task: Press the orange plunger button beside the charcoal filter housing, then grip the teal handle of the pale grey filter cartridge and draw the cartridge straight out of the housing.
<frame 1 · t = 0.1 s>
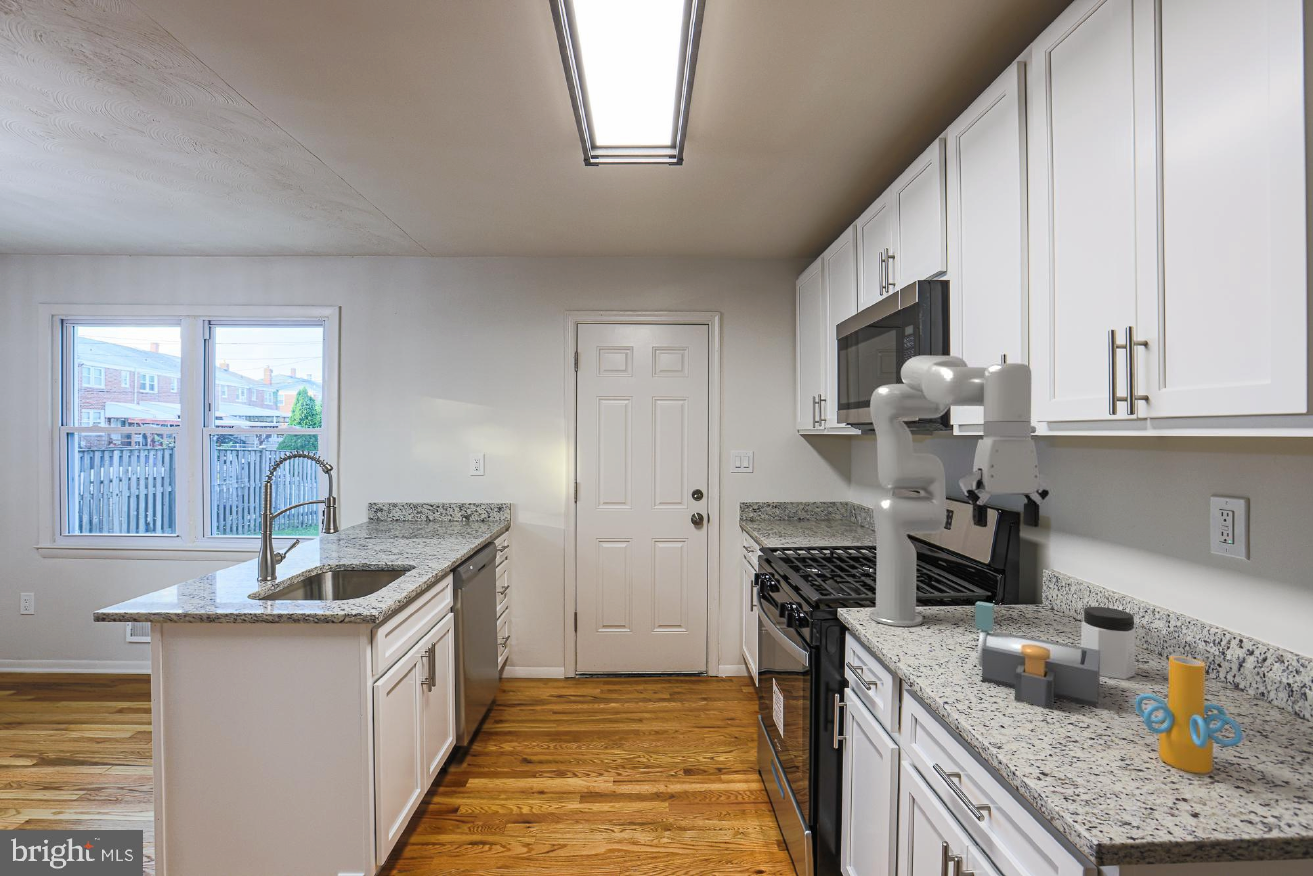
hand: (1005, 526, 112), 31 cm above the worktop, tool pointing down, fingers open, 9 cm apart
housing: (1040, 682, 118), on the worktop
jar: (1107, 672, 125), on the worktop
ringed yellow tube: (1185, 764, 90), on the worktop
cartridge: (1026, 642, 120), point 7 cm above the worktop, slide at 0.0 cm
plunger: (1035, 667, 111), point 6 cm above the worktop, slide at 0.0 cm
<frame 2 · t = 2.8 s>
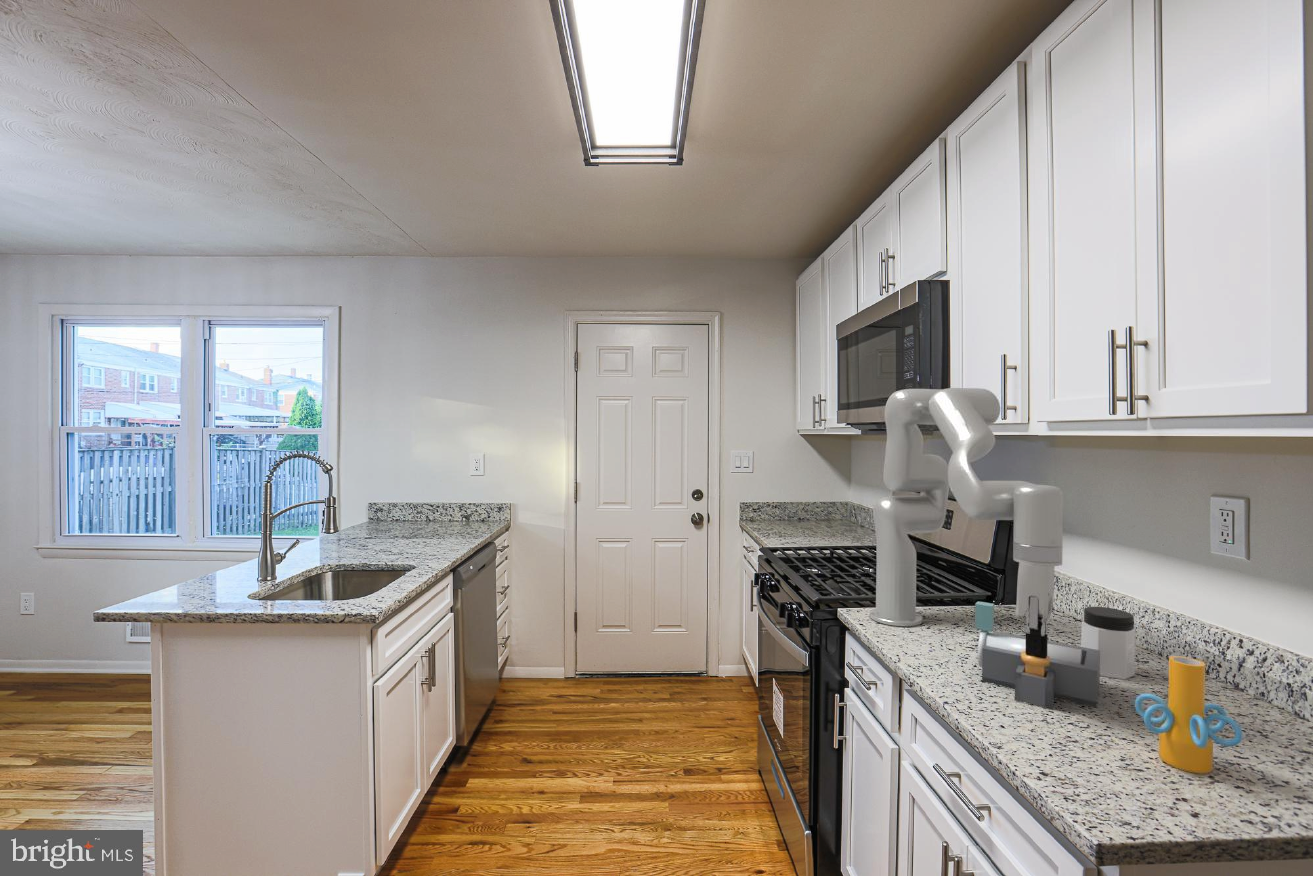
hand: (1036, 655, 111), 8 cm above the worktop, tool pointing down, fingers closed
plunger: (1035, 673, 111), point 5 cm above the worktop, slide at -1.2 cm, touching gripper
everything else where it was.
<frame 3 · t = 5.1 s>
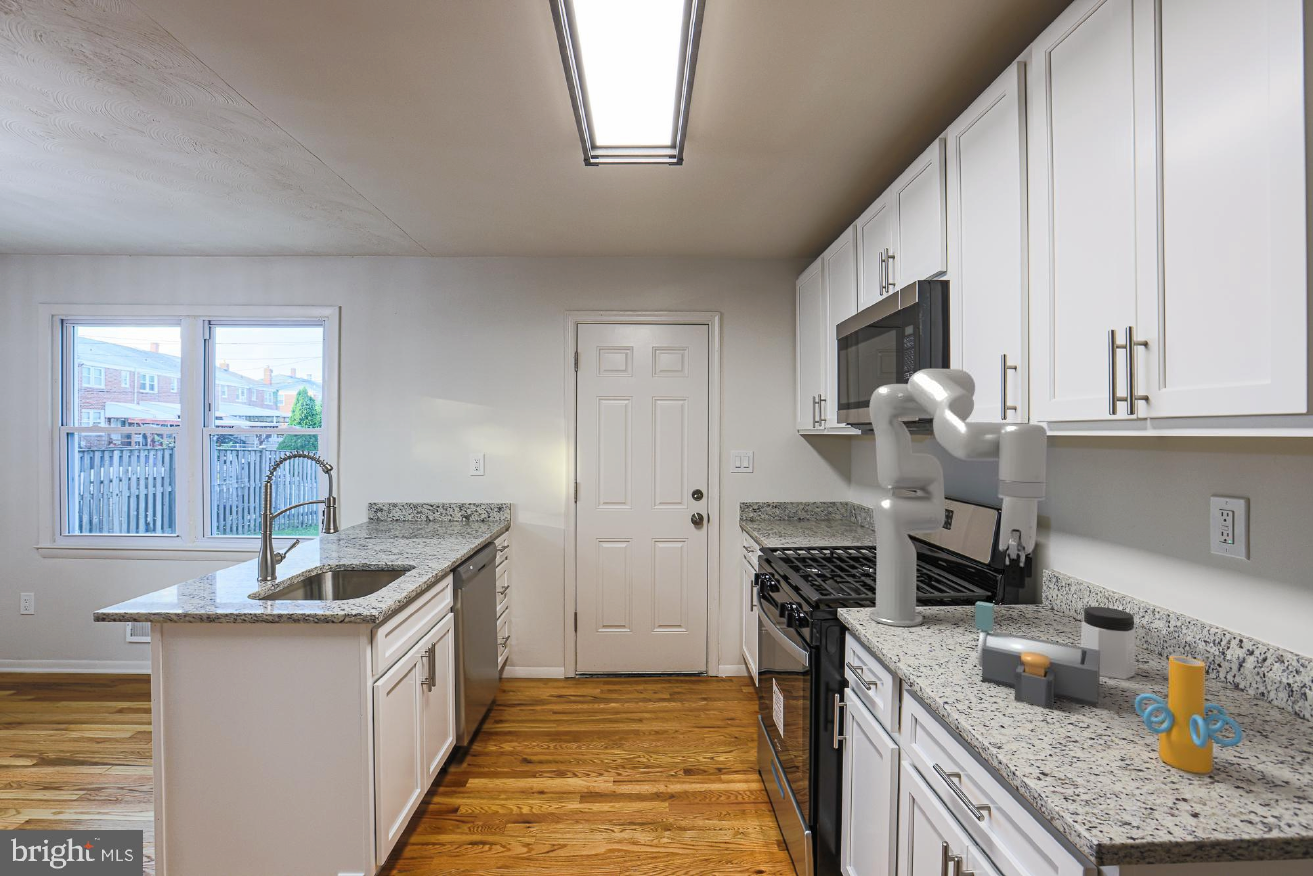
hand: (1018, 581, 115), 20 cm above the worktop, tool pointing down, fingers open, 9 cm apart
plunger: (1035, 675, 111), point 4 cm above the worktop, slide at -1.4 cm
everything else where it was.
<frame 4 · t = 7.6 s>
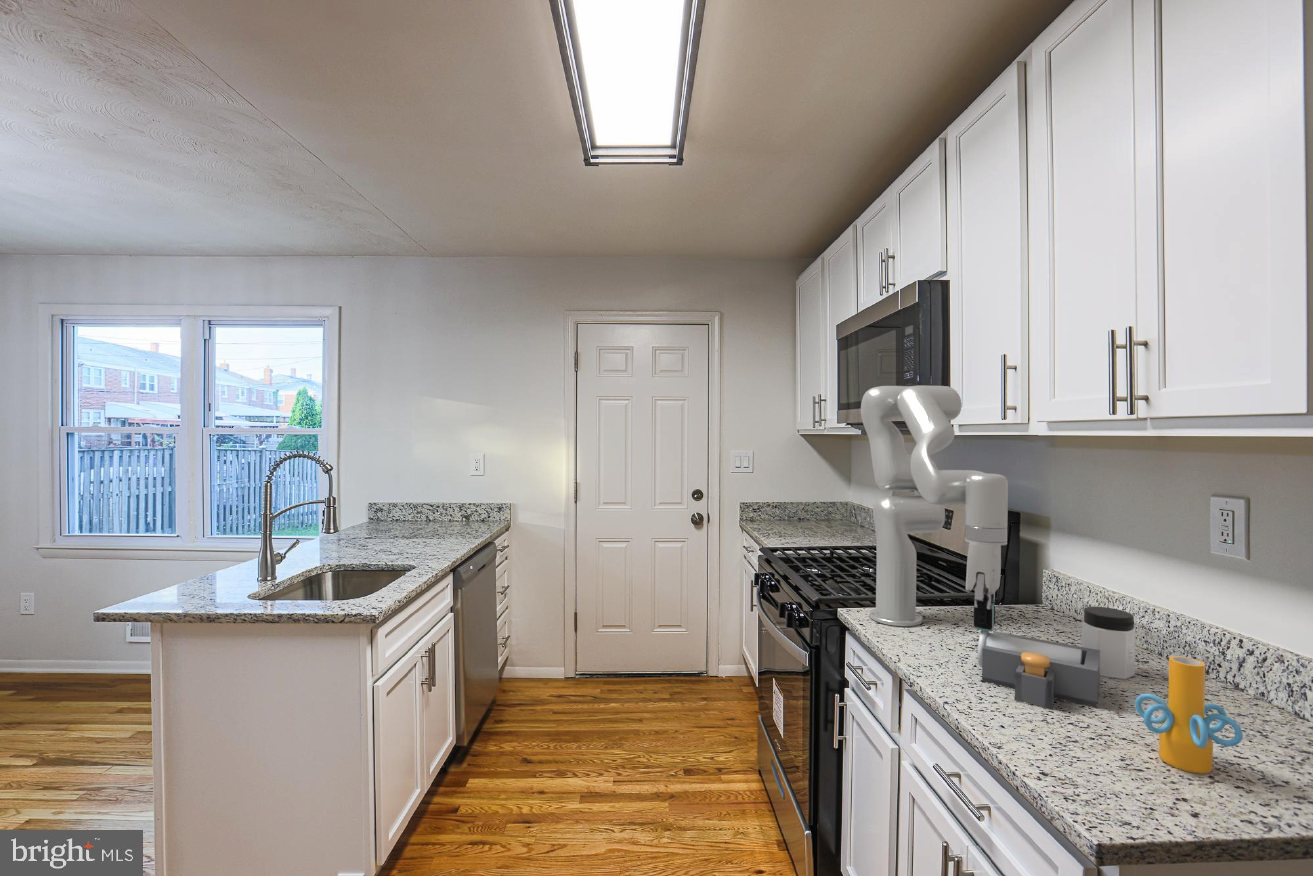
hand: (984, 625, 124), 9 cm above the worktop, tool pointing down, fingers closed on cartridge, 2 cm apart
cartridge: (1026, 642, 120), point 7 cm above the worktop, slide at 0.0 cm, touching gripper
everything else where it was.
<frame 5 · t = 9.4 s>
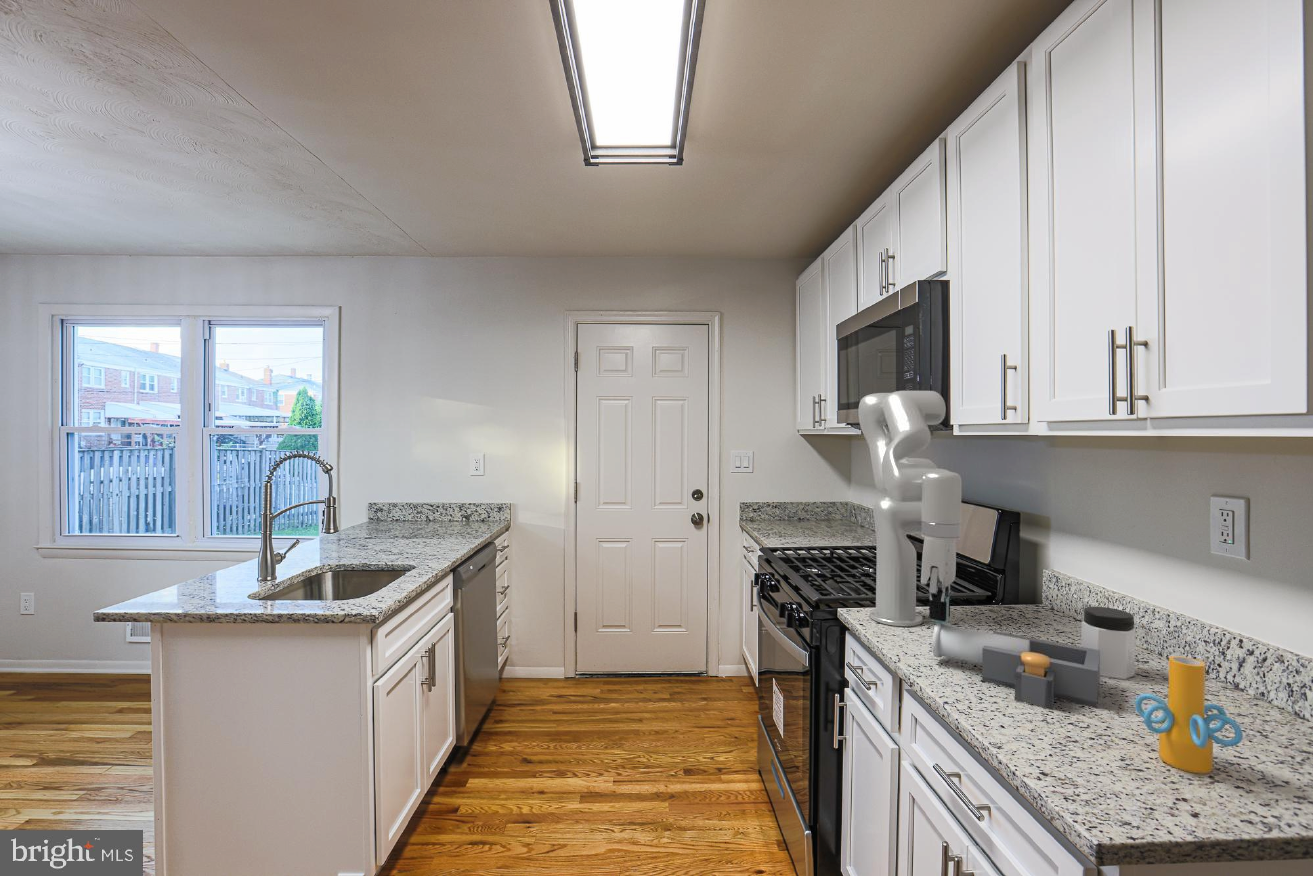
hand: (939, 617, 129), 9 cm above the worktop, tool pointing down, fingers closed on cartridge, 2 cm apart
cartridge: (978, 633, 125), point 7 cm above the worktop, slide at 8.4 cm, touching gripper
everything else where it was.
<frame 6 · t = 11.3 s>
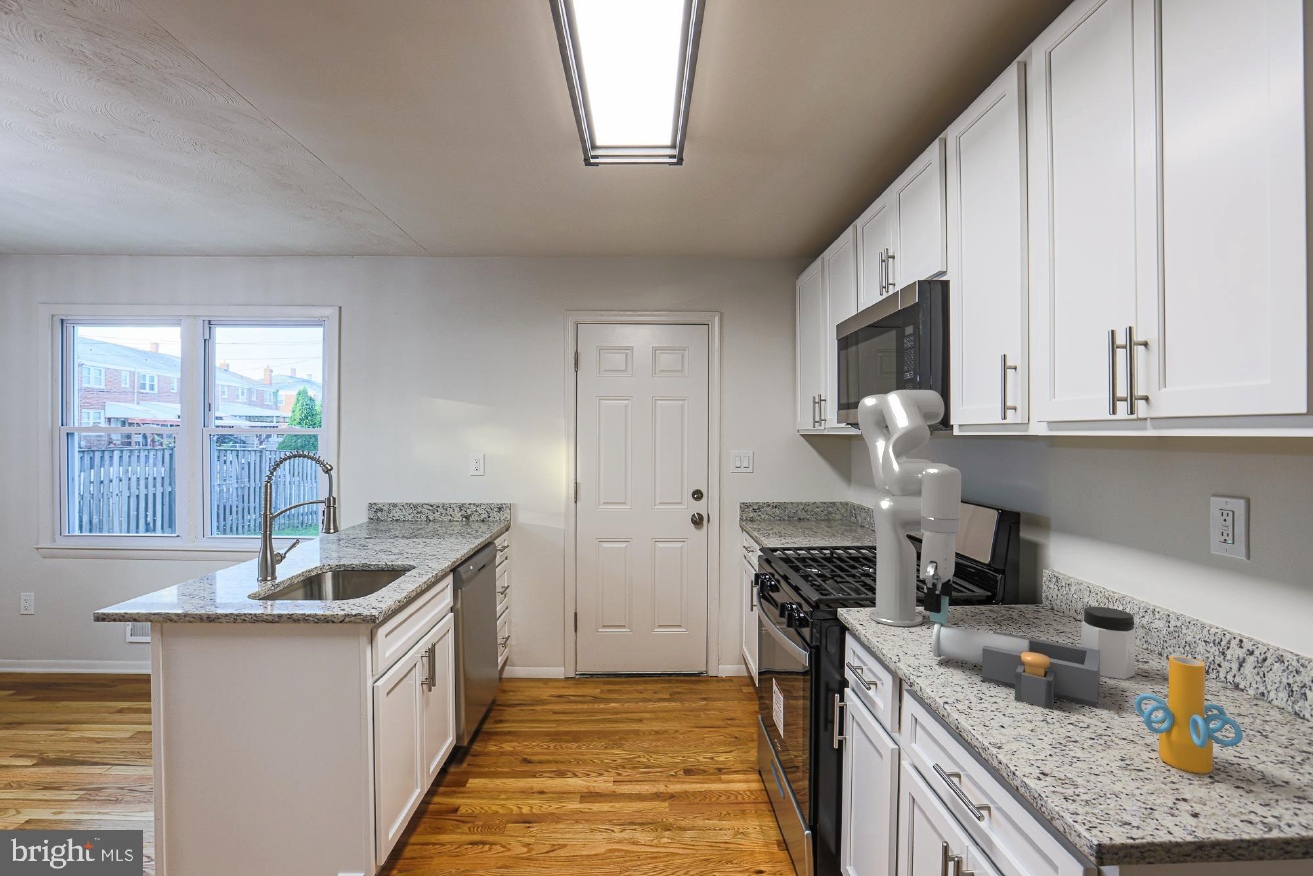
hand: (938, 606, 130), 11 cm above the worktop, tool pointing down, fingers open, 9 cm apart
cartridge: (977, 633, 125), point 7 cm above the worktop, slide at 8.5 cm
everything else where it was.
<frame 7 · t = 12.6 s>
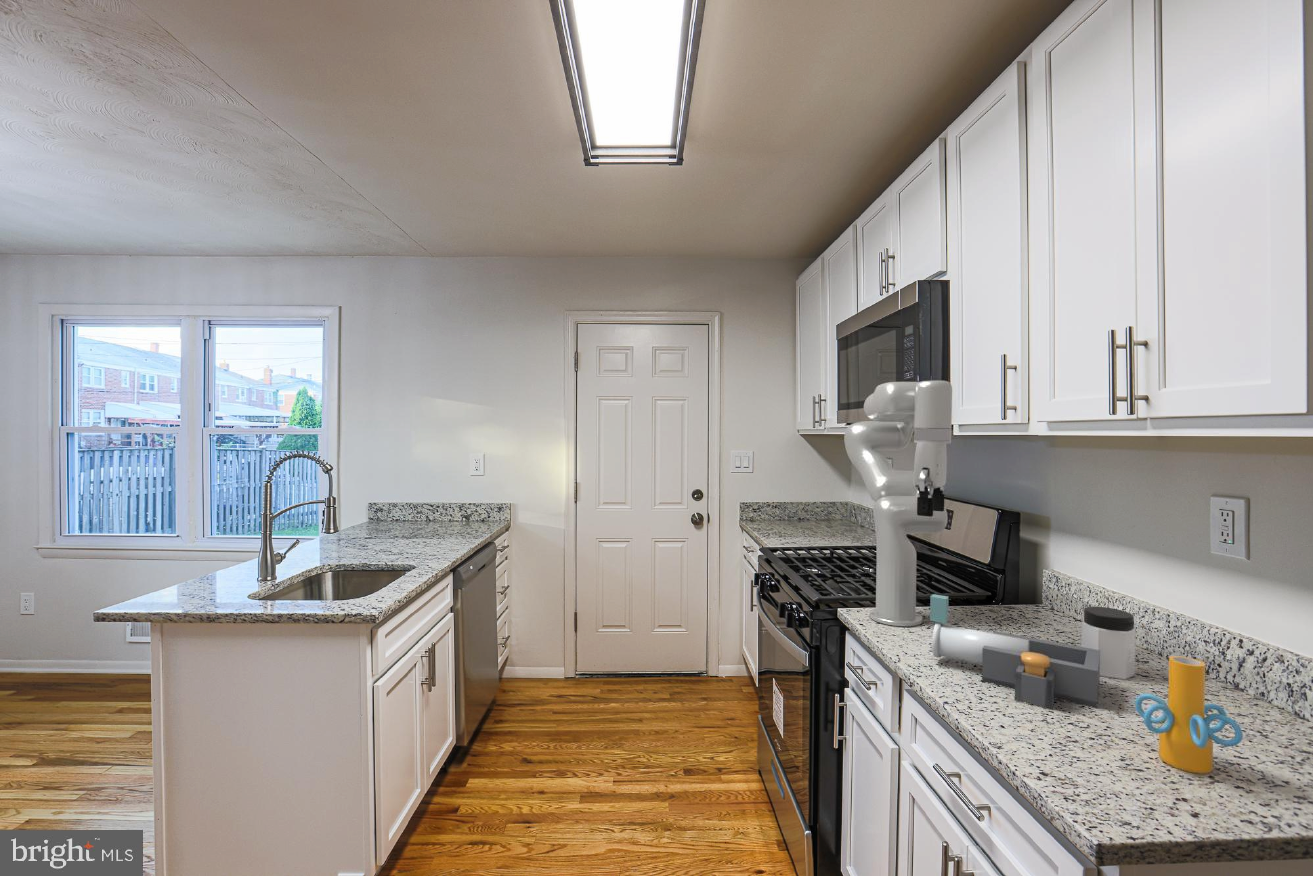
hand: (930, 513, 137), 30 cm above the worktop, tool pointing down, fingers open, 9 cm apart
nothing on the worktop moved.
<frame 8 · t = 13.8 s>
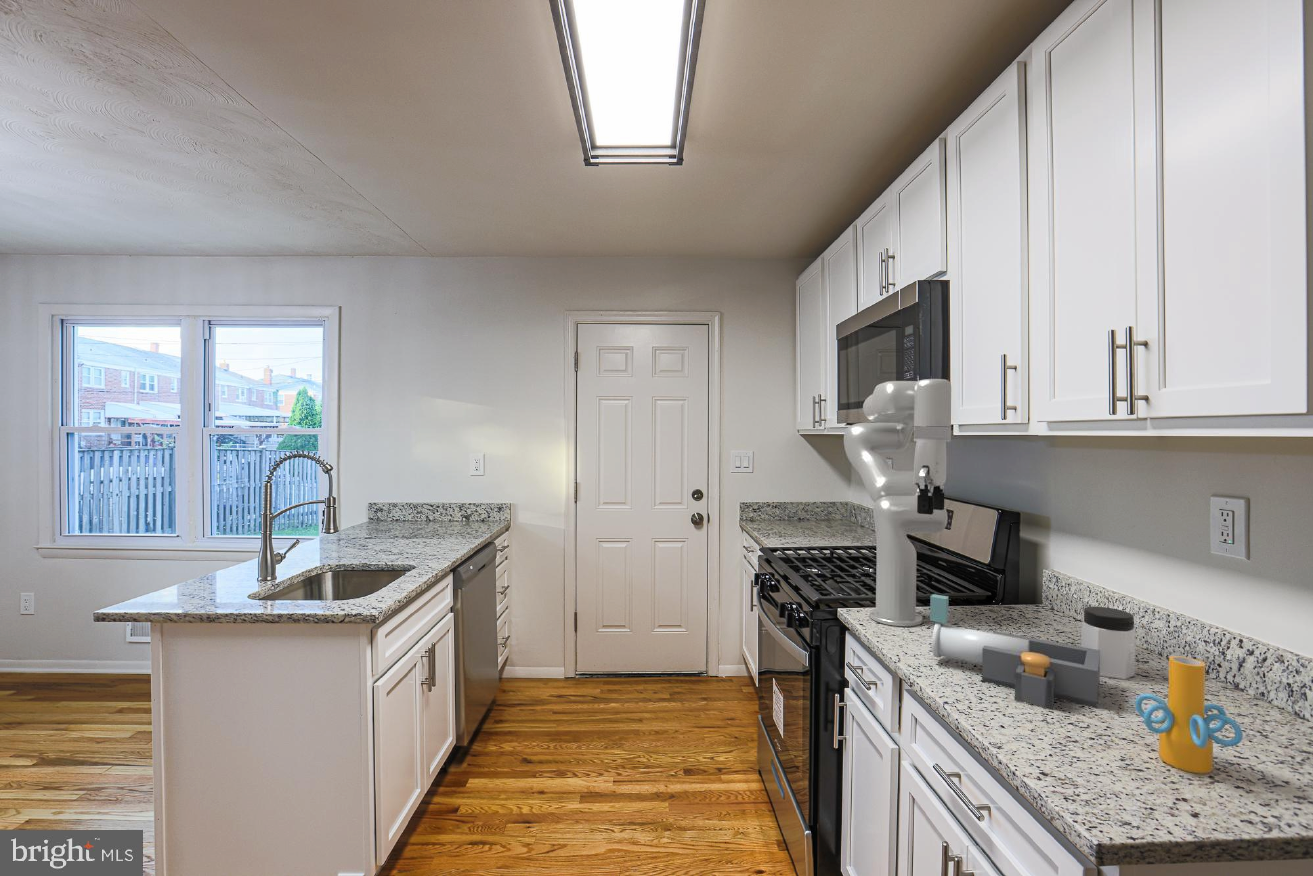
hand: (930, 511, 137), 30 cm above the worktop, tool pointing down, fingers open, 9 cm apart
nothing on the worktop moved.
at the end: plunger slide at -1.4 cm; cartridge slide at 8.5 cm; the gripper is holding nothing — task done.
